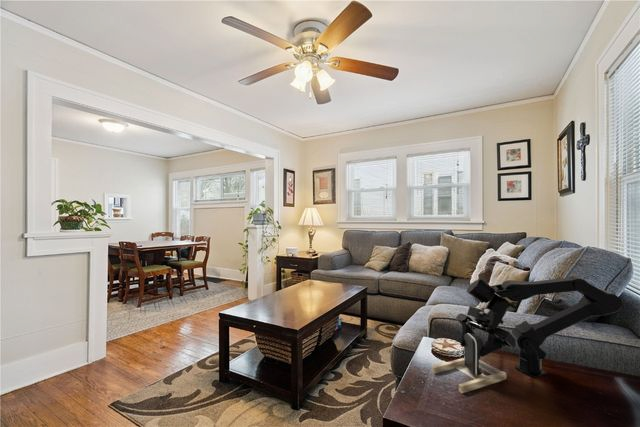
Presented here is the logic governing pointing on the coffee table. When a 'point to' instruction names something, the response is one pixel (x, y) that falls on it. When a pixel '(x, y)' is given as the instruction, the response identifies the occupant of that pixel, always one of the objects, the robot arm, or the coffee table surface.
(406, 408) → the coffee table surface
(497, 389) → the coffee table surface
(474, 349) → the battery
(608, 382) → the coffee table surface
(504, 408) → the coffee table surface
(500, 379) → the guide channel
